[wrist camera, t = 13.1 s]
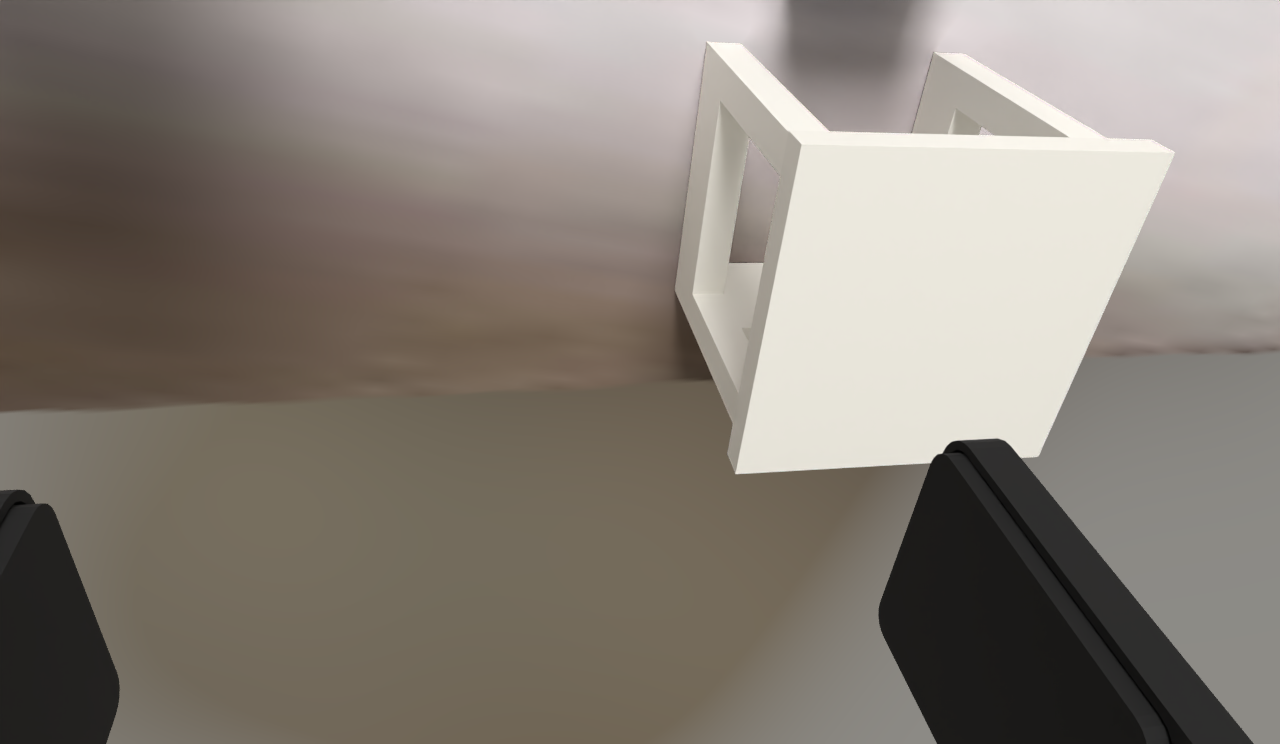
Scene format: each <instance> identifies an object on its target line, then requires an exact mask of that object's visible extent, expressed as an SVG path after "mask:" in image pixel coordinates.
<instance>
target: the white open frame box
mask: <svg viewBox="0 0 1280 744" xmlns="http://www.w3.org/2000/svg"><path fill="white" fill-rule="evenodd" d="M981 127H983V128H985V129H986V130H987V131H989V132H990V133H992V134H993V135H995V136H991V135H979V133H980V130H981ZM749 138H750V139H751V140H752V141H753V143H754V144H755V145H756V146H757V148H758V149H759V150H760V151H761V153H762V154H763V155H764V157H765V158H766V159H767V160H768V162H769V163H770V164H771V165H772V167H773V168H774V169H775V170H776V172H777V173H778V174H779V176H780V179H779V184H778V190H777V195H776V200H775V205H774V211H773V216H772V221H771V226H770V231H769V237H768V242H767V247H766V252H765V258H764V263H729V258H730V252H731V246H732V240H733V234H734V228H735V222H736V216H737V210H738V204H739V198H740V192H741V186H742V180H743V174H744V168H745V162H746V156H747V150H748V143H749ZM1174 154H1175V152H1173V151H1171V150H1169V149H1168V148H1166V147H1164V146H1162V145H1160V144H1159V143H1157V142H1155V141H1153V140H1148V139H1109V138H1106V137H1104V136H1102V135H1101V134H1099V133H1097V132H1096V131H1094V130H1092V129H1091V128H1089V127H1087V126H1085V125H1084V124H1082V123H1080V122H1079V121H1077V120H1075V119H1074V118H1072V117H1070V116H1069V115H1067V114H1065V113H1063V112H1062V111H1060V110H1058V109H1057V108H1055V107H1053V106H1052V105H1050V104H1048V103H1047V102H1045V101H1043V100H1042V99H1040V98H1038V97H1036V96H1035V95H1033V94H1031V93H1030V92H1028V91H1026V90H1025V89H1023V88H1021V87H1020V86H1018V85H1016V84H1014V83H1013V82H1011V81H1009V80H1008V79H1006V78H1004V77H1003V76H1001V75H999V74H998V73H996V72H994V71H993V70H991V69H989V68H987V67H986V66H984V65H982V64H981V63H979V62H977V61H976V60H974V59H972V58H971V57H969V56H967V55H965V54H959V53H937V52H934V53H933V57H932V61H931V64H930V68H929V72H928V75H927V79H926V83H925V86H924V90H923V94H922V97H921V101H920V105H919V108H918V112H917V116H916V119H915V123H914V127H913V130H912V133H872V132H833V131H829V130H828V129H827V128H826V127H825V126H824V125H823V124H822V123H821V122H820V121H819V120H818V119H817V118H816V117H815V116H813V115H812V114H811V113H810V112H809V111H808V110H807V109H806V108H805V107H804V106H803V105H802V104H801V103H800V102H799V101H798V100H797V99H796V98H795V97H794V96H793V95H792V94H791V93H790V92H789V91H788V90H787V89H786V88H785V87H784V86H783V85H782V84H781V83H780V82H779V81H778V80H777V79H776V78H775V77H774V76H773V75H772V74H771V73H770V72H769V71H768V70H767V69H766V68H765V67H764V66H763V65H762V64H761V63H760V62H759V61H758V60H757V59H756V58H755V57H754V56H753V55H752V54H751V53H750V52H749V51H748V50H747V49H746V48H745V47H744V46H743V45H742V44H741V43H720V42H707V45H706V52H705V60H704V68H703V75H702V83H701V91H700V99H699V106H698V114H697V122H696V130H695V137H694V145H693V153H692V160H691V168H690V176H689V184H688V191H687V199H686V207H685V214H684V222H683V230H682V238H681V245H680V253H679V261H678V268H677V276H676V284H675V292H676V294H677V297H678V299H679V301H680V304H681V306H682V308H683V311H684V313H685V315H686V317H687V320H688V322H689V324H690V327H691V329H692V331H693V334H694V336H695V338H696V340H697V343H698V345H699V347H700V350H701V352H702V354H703V357H704V359H705V361H706V363H707V366H708V368H709V370H710V373H711V375H712V377H713V380H714V382H715V384H716V386H717V389H718V391H719V393H720V396H721V398H722V400H723V403H724V405H725V407H726V409H727V412H728V414H729V416H730V419H731V421H732V423H733V425H732V431H731V436H730V441H729V447H728V452H727V455H728V457H729V460H730V462H731V465H732V467H733V469H734V472H735V474H748V473H765V472H783V471H800V470H817V469H835V468H851V467H869V466H886V465H904V464H921V463H931V462H932V460H933V458H934V457H935V456H936V455H937V454H942V453H943V452H944V450H945V448H946V446H947V445H948V444H949V443H951V442H952V441H958V440H977V439H996V438H998V439H1001V440H1004V441H1006V442H1007V443H1008V444H1009V445H1010V446H1011V447H1012V448H1013V449H1014V451H1015V452H1016V453H1017V454H1018V455H1019V457H1020V458H1025V457H1038V456H1039V454H1040V451H1041V449H1042V447H1043V445H1044V443H1045V440H1046V438H1047V436H1048V434H1049V431H1050V429H1051V427H1052V425H1053V423H1054V420H1055V418H1056V416H1057V414H1058V412H1059V409H1060V407H1061V405H1062V402H1063V401H1064V398H1065V396H1066V394H1067V392H1068V389H1069V387H1070V385H1071V383H1072V381H1073V378H1074V376H1075V374H1076V372H1077V369H1078V367H1079V365H1080V363H1081V361H1082V358H1083V356H1084V354H1085V352H1086V350H1087V347H1088V345H1089V343H1090V341H1091V338H1092V336H1093V334H1094V332H1095V330H1096V327H1097V325H1098V323H1099V321H1100V319H1101V316H1102V314H1103V312H1104V310H1105V307H1106V305H1107V303H1108V301H1109V299H1110V296H1111V294H1112V292H1113V290H1114V287H1115V285H1116V283H1117V281H1118V279H1119V276H1120V274H1121V272H1122V270H1123V268H1124V265H1125V263H1126V261H1127V259H1128V256H1129V254H1130V252H1131V250H1132V248H1133V245H1134V243H1135V241H1136V239H1137V236H1138V234H1139V232H1140V230H1141V228H1142V225H1143V223H1144V221H1145V219H1146V217H1147V214H1148V212H1149V210H1150V208H1151V205H1152V203H1153V201H1154V199H1155V197H1156V194H1157V192H1158V190H1159V188H1160V185H1161V183H1162V181H1163V179H1164V177H1165V174H1166V172H1167V170H1168V168H1169V166H1170V163H1171V161H1172V159H1173V157H1174Z"/></svg>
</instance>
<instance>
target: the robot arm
mask: <svg viewBox="0 0 1280 744" xmlns="http://www.w3.org/2000/svg"><path fill="white" fill-rule="evenodd" d="M879 624H880V628H881V631H882V634H883V636H884V638H885V640H886V642H887V644H888V646H889V648H890V650H891V652H892V654H893V656H894V658H895V660H896V662H897V664H898V666H899V668H900V670H901V672H902V674H903V676H904V678H905V680H906V682H907V684H908V686H909V688H910V690H911V692H912V694H913V696H914V698H915V700H916V702H917V704H918V706H919V708H920V710H921V712H922V714H923V716H924V718H925V720H926V722H927V724H928V726H929V728H930V730H931V732H932V734H933V736H934V738H935V740H936V742H937V744H1253V742H1252V741H1251V740H1250V739H1249V738H1248V736H1247V735H1246V734H1245V733H1244V731H1243V730H1242V729H1241V728H1240V726H1239V725H1238V724H1237V723H1236V722H1235V721H1234V719H1233V718H1232V717H1231V715H1230V714H1229V713H1228V712H1227V711H1226V709H1225V708H1224V707H1223V706H1222V704H1221V703H1220V702H1219V701H1218V699H1217V698H1216V697H1215V696H1214V695H1213V694H1212V692H1211V691H1210V690H1209V689H1208V687H1207V686H1206V685H1205V684H1204V682H1203V681H1202V680H1201V679H1200V677H1199V676H1198V675H1197V674H1196V672H1195V671H1194V670H1193V669H1192V668H1191V666H1190V665H1189V664H1188V663H1187V662H1186V660H1185V659H1184V658H1183V657H1182V655H1181V654H1180V653H1179V652H1178V651H1177V649H1176V648H1175V647H1174V646H1173V644H1172V643H1171V642H1170V641H1169V639H1168V638H1167V637H1166V636H1165V635H1164V633H1163V632H1162V631H1161V630H1160V629H1159V627H1158V626H1157V625H1156V623H1155V622H1154V621H1153V620H1152V619H1151V617H1150V616H1149V615H1148V614H1147V612H1146V611H1145V610H1144V609H1143V607H1142V606H1141V605H1140V604H1139V603H1138V601H1137V600H1136V599H1135V598H1134V596H1133V595H1132V594H1131V593H1130V592H1129V590H1128V589H1127V588H1126V587H1125V585H1124V584H1123V583H1122V582H1121V581H1120V579H1119V578H1118V577H1117V576H1116V574H1115V573H1114V572H1113V571H1112V569H1111V568H1110V567H1109V566H1108V565H1107V563H1106V562H1105V561H1104V560H1103V559H1102V557H1101V556H1100V555H1099V554H1098V553H1097V551H1096V550H1095V549H1094V548H1093V546H1092V545H1091V544H1090V543H1089V541H1088V540H1087V539H1086V538H1085V536H1084V535H1083V534H1082V533H1081V532H1080V530H1079V529H1078V528H1077V527H1076V525H1075V524H1074V523H1073V522H1072V520H1071V519H1070V518H1069V517H1068V516H1067V514H1066V513H1065V512H1064V511H1063V509H1062V508H1061V507H1060V506H1059V505H1058V503H1057V502H1056V501H1055V500H1054V498H1053V497H1052V496H1051V495H1050V494H1049V492H1048V491H1047V490H1046V489H1045V487H1044V486H1043V485H1042V484H1041V483H1040V481H1039V480H1038V479H1037V478H1036V476H1035V475H1034V474H1033V473H1032V471H1031V470H1030V469H1029V468H1028V467H1027V465H1026V464H1025V463H1024V462H1023V461H1022V459H1021V458H1020V457H1019V455H1018V454H1017V453H1016V452H1015V451H1014V449H1013V448H1012V447H1011V446H1010V445H1009V444H1008V443H1007V442H1006V441H1004V440H1001V439H998V438H996V439H977V440H958V441H952V442H951V443H949V444H948V445H947V446H946V448H945V450H944V452H943V453H942V454H937V455H936V456H935V457H934V458H933V460H932V462H931V464H930V467H929V470H928V473H927V476H926V478H925V481H924V484H923V486H922V489H921V492H920V495H919V497H918V500H917V503H916V505H915V508H914V511H913V514H912V517H911V519H910V522H909V525H908V528H907V530H906V533H905V536H904V538H903V541H902V544H901V547H900V550H899V552H898V555H897V558H896V561H895V563H894V566H893V569H892V571H891V574H890V577H889V580H888V582H887V585H886V588H885V591H884V594H883V596H882V599H881V602H880V606H879ZM118 702H119V678H118V675H117V672H116V669H115V666H114V664H113V662H112V659H111V656H110V653H109V651H108V648H107V646H106V643H105V641H104V638H103V635H102V633H101V631H100V628H99V625H98V623H97V620H96V617H95V615H94V612H93V610H92V607H91V605H90V602H89V599H88V597H87V594H86V592H85V589H84V587H83V584H82V581H81V579H80V576H79V574H78V571H77V568H76V566H75V563H74V561H73V558H72V556H71V554H70V550H69V548H68V545H67V543H66V540H65V538H64V535H63V532H62V530H61V527H60V525H59V522H58V519H57V517H56V514H55V512H54V510H53V509H52V507H51V506H49V505H48V504H35V502H34V501H33V499H32V497H31V495H30V494H28V493H27V492H26V491H25V490H6V491H5V490H4V491H0V744H106V742H107V740H108V736H109V733H110V730H111V727H112V724H113V721H114V718H115V715H116V712H117V707H118Z"/></svg>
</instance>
